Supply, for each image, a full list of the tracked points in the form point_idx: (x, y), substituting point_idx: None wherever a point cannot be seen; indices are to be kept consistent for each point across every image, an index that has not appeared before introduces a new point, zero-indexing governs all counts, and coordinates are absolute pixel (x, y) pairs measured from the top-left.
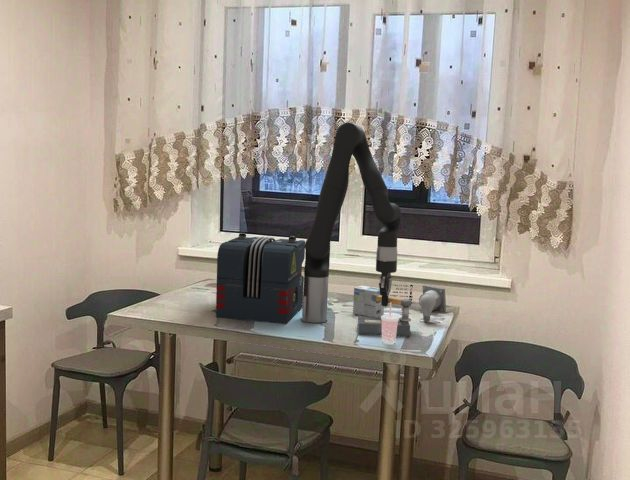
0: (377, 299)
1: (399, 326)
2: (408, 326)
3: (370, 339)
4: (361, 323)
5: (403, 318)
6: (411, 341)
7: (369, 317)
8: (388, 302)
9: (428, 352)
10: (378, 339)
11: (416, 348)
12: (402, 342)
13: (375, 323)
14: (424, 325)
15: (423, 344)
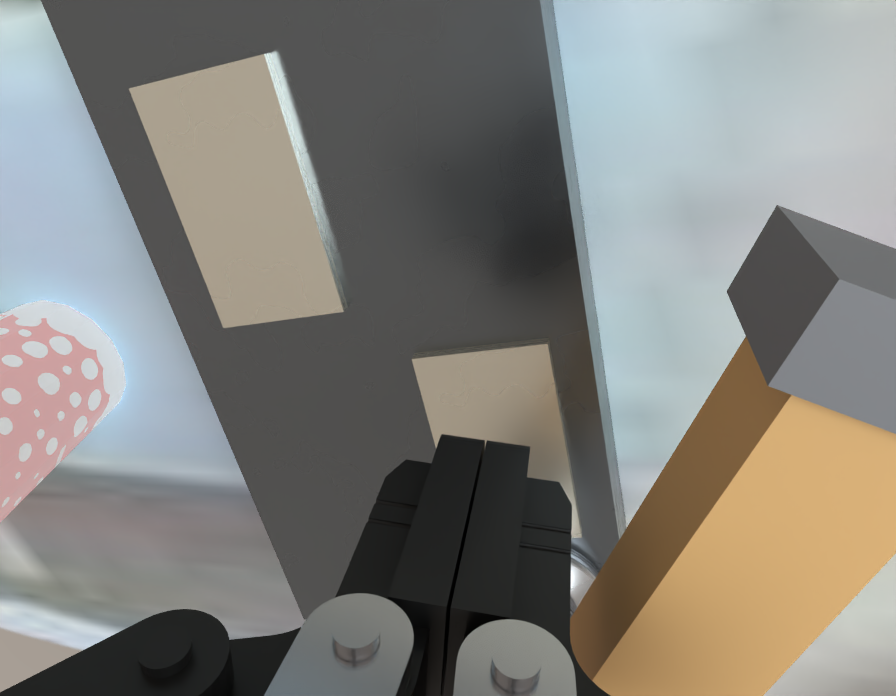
0: (751, 371)
1: (270, 518)
2: (300, 599)
3: (49, 177)
4: (59, 32)
5: None
6: (215, 537)
7: (516, 107)
8: (597, 586)
9: (23, 615)
10: (101, 262)
11: (57, 556)
12: (143, 471)
13: (185, 250)
14: (856, 681)
15: (186, 607)
